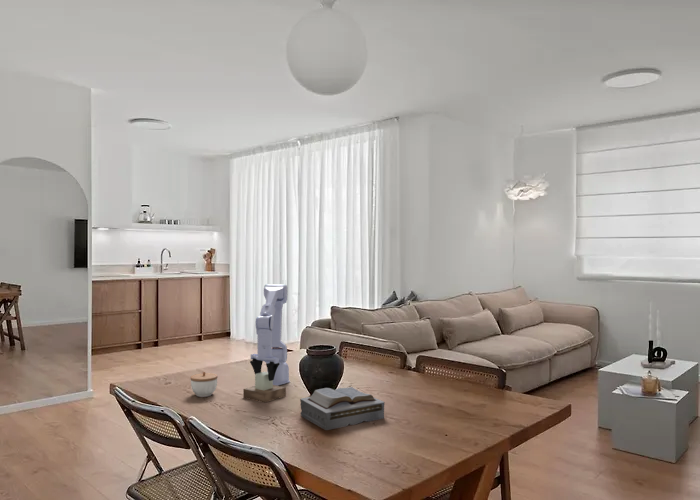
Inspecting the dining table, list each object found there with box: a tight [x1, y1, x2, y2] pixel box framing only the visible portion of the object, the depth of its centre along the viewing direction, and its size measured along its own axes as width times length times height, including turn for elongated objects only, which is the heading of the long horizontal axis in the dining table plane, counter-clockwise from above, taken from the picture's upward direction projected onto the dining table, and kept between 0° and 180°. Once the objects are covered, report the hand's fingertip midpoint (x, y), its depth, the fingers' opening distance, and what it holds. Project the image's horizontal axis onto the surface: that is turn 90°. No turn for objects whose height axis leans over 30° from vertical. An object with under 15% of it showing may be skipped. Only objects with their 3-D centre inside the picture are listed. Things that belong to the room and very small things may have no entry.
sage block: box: [254, 371, 273, 390], centre depth 224 cm, size 5×5×6 cm
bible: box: [300, 386, 385, 431], centre depth 198 cm, size 23×27×10 cm
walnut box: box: [242, 385, 287, 403], centre depth 225 cm, size 12×12×4 cm
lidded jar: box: [190, 371, 218, 398], centre depth 228 cm, size 11×11×9 cm
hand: (264, 378), depth 225 cm, fingers open, 7 cm apart
